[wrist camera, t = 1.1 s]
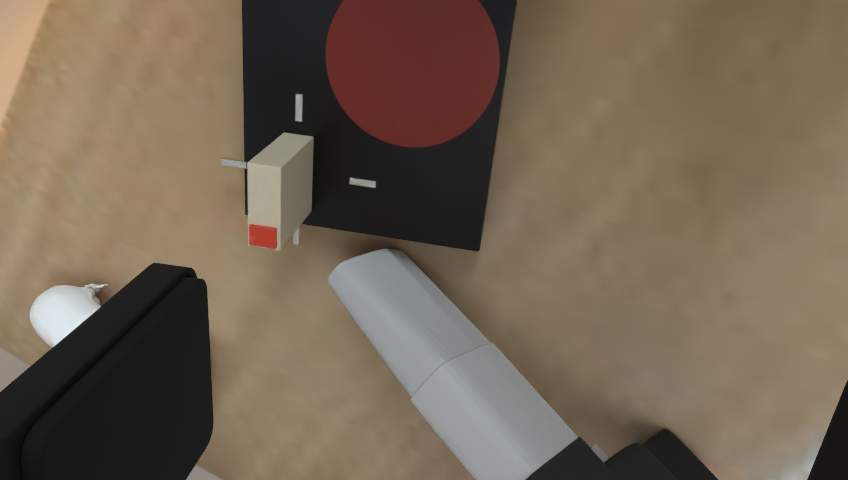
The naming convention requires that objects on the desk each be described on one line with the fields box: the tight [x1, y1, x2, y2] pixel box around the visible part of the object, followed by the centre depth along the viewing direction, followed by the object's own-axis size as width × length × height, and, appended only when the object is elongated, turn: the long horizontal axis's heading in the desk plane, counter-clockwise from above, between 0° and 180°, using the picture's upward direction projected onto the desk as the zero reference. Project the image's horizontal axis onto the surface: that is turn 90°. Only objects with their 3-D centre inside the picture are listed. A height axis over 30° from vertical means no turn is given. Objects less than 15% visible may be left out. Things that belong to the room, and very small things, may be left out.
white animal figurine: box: [30, 284, 108, 347], centre depth 42 cm, size 6×8×12 cm
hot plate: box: [325, 0, 500, 148], centre depth 33 cm, size 8×8×1 cm
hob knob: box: [247, 132, 314, 251], centre depth 34 cm, size 4×2×5 cm, turn 175°
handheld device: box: [327, 249, 718, 480], centre depth 39 cm, size 4×22×15 cm
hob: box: [221, 0, 517, 251], centre depth 36 cm, size 15×14×3 cm
